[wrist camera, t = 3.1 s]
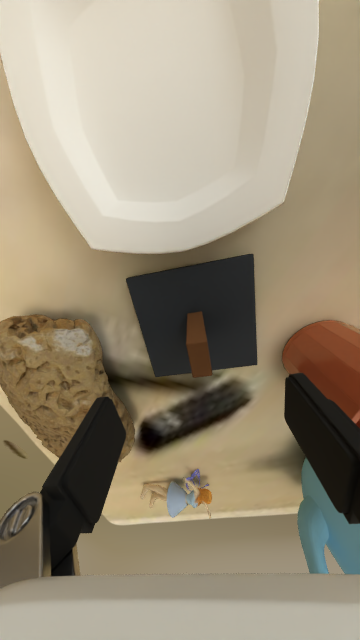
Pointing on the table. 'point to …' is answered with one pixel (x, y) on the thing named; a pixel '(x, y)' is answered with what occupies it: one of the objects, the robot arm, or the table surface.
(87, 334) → the sponge
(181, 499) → the fairy figurine
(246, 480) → the table surface
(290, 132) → the plate
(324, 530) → the teapot
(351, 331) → the cup
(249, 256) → the dark grey square stand
